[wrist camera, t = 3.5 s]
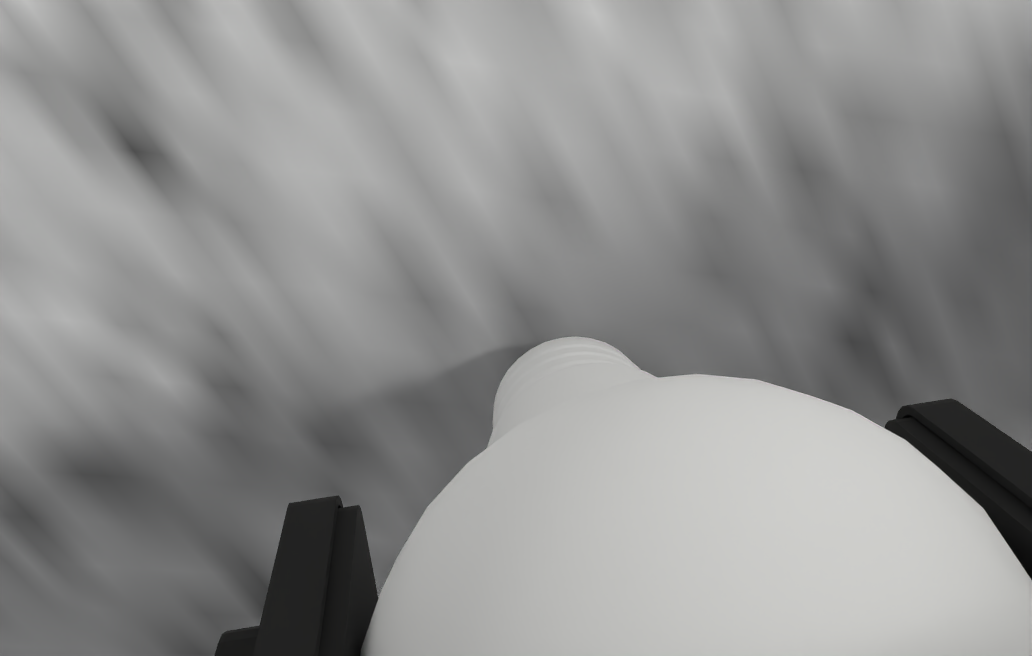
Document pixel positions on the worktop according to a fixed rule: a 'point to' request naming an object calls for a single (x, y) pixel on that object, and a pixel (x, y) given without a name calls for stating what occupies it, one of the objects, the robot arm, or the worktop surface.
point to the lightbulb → (695, 529)
